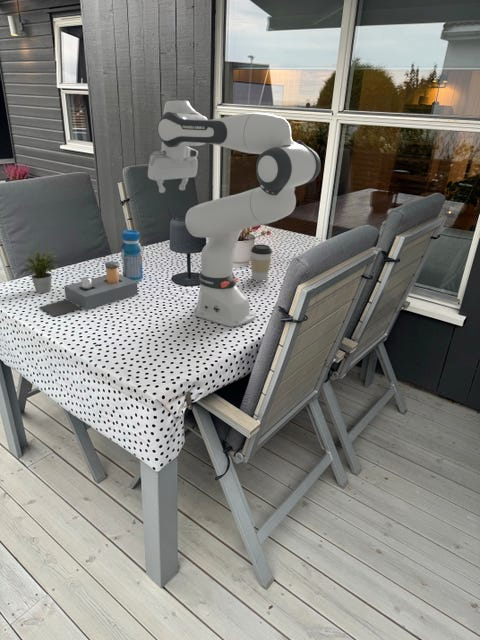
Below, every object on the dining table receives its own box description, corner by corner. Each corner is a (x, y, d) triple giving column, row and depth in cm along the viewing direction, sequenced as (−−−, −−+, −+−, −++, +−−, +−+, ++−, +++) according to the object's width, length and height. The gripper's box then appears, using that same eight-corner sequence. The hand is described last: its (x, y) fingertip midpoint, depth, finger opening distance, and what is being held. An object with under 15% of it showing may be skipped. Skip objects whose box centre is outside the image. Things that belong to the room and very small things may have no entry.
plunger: (89, 290, 166) (87, 276, 164) (94, 293, 164) (93, 278, 162) (80, 292, 164) (78, 278, 161) (85, 295, 162) (84, 281, 159)
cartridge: (122, 293, 173) (120, 263, 168) (112, 296, 170) (109, 266, 165) (115, 289, 176) (113, 260, 171) (104, 292, 173) (102, 263, 168)
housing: (116, 284, 181) (115, 272, 179) (137, 294, 173) (137, 282, 171) (65, 298, 166) (64, 285, 164) (86, 310, 158) (85, 296, 156)
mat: (81, 309, 158) (80, 307, 158) (54, 317, 151) (54, 315, 151) (66, 300, 164) (65, 299, 164) (39, 308, 157) (39, 306, 157)
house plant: (48, 301, 163) (42, 258, 156) (14, 296, 165) (7, 253, 158) (69, 287, 175) (65, 247, 168) (37, 283, 178) (31, 243, 171)
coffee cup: (270, 276, 200) (272, 243, 194) (269, 283, 192) (272, 249, 186) (249, 274, 201) (252, 242, 194) (248, 281, 193) (250, 247, 186)
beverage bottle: (131, 284, 183) (129, 235, 174) (118, 278, 187) (115, 231, 179) (147, 279, 189) (146, 232, 180) (134, 274, 193) (131, 228, 185)
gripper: (156, 153, 145) (155, 196, 152) (201, 151, 160) (198, 190, 166) (144, 149, 149) (143, 191, 155) (189, 148, 163) (186, 186, 170)
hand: (172, 191), depth 161 cm, fingers open, 8 cm apart
